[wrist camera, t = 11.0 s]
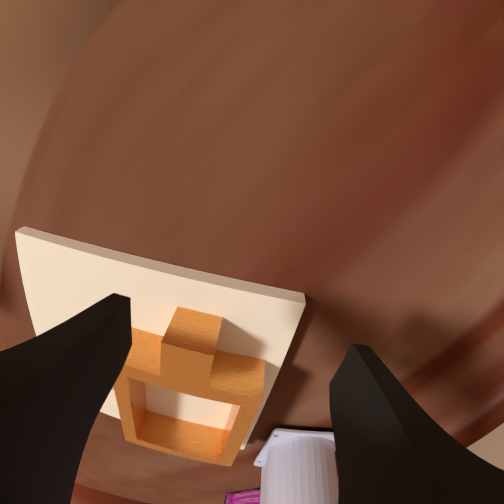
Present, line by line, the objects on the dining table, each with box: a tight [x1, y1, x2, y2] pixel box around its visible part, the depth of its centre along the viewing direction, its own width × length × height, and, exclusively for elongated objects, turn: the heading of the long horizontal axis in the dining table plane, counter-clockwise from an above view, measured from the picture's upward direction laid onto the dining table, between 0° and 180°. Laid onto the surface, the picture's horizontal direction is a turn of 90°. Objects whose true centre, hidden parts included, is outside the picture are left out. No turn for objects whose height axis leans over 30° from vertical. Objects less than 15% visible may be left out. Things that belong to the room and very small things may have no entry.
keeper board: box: [15, 226, 306, 450], centre depth 19 cm, size 20×22×7 cm
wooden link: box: [114, 306, 265, 467], centre depth 20 cm, size 15×10×4 cm, turn 167°
